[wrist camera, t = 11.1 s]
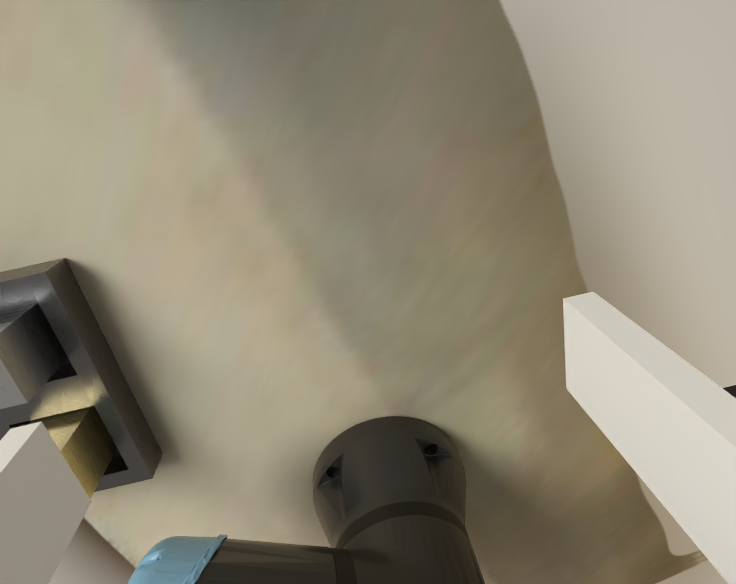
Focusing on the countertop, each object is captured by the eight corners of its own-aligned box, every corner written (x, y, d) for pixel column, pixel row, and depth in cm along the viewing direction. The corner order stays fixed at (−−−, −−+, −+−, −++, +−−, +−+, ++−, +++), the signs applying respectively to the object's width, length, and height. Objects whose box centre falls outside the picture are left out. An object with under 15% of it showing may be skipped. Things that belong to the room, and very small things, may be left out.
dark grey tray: (162, 454, 45) (152, 478, 42) (57, 478, 45) (40, 504, 42) (65, 258, 37) (45, 272, 34) (-65, 287, 36) (-95, 303, 34)
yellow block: (120, 441, 43) (87, 503, 37) (66, 453, 43) (23, 518, 37) (97, 397, 41) (58, 454, 35) (40, 409, 41) (-11, 469, 35)
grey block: (73, 350, 39) (27, 402, 33) (13, 364, 39) (-45, 419, 33) (45, 296, 37) (-11, 341, 31) (-19, 311, 37) (-88, 358, 31)
